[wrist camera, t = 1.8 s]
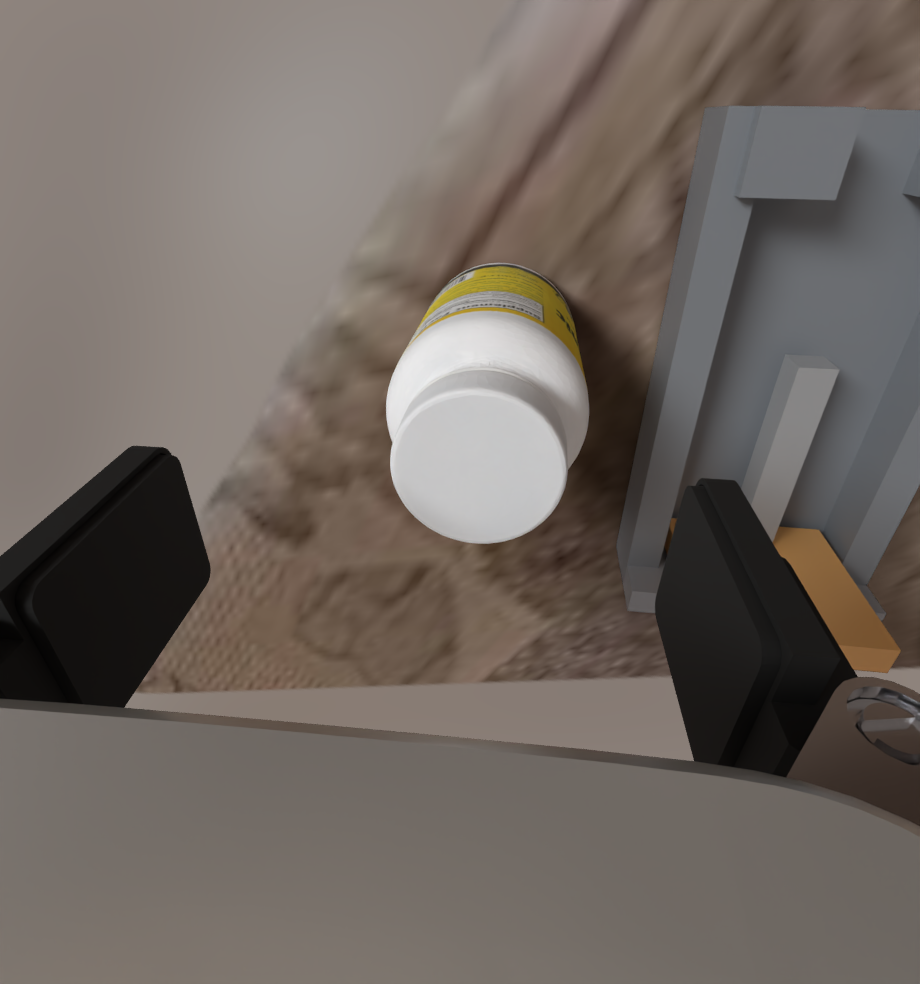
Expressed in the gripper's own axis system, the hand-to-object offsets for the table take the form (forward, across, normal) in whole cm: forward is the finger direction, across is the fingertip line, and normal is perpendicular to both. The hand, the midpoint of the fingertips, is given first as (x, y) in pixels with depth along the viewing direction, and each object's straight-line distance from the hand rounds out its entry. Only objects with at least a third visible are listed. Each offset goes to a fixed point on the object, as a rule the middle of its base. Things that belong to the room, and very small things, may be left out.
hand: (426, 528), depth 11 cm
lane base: (+12, -11, +1) cm, 16 cm away
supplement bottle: (+12, -1, 0) cm, 12 cm away
